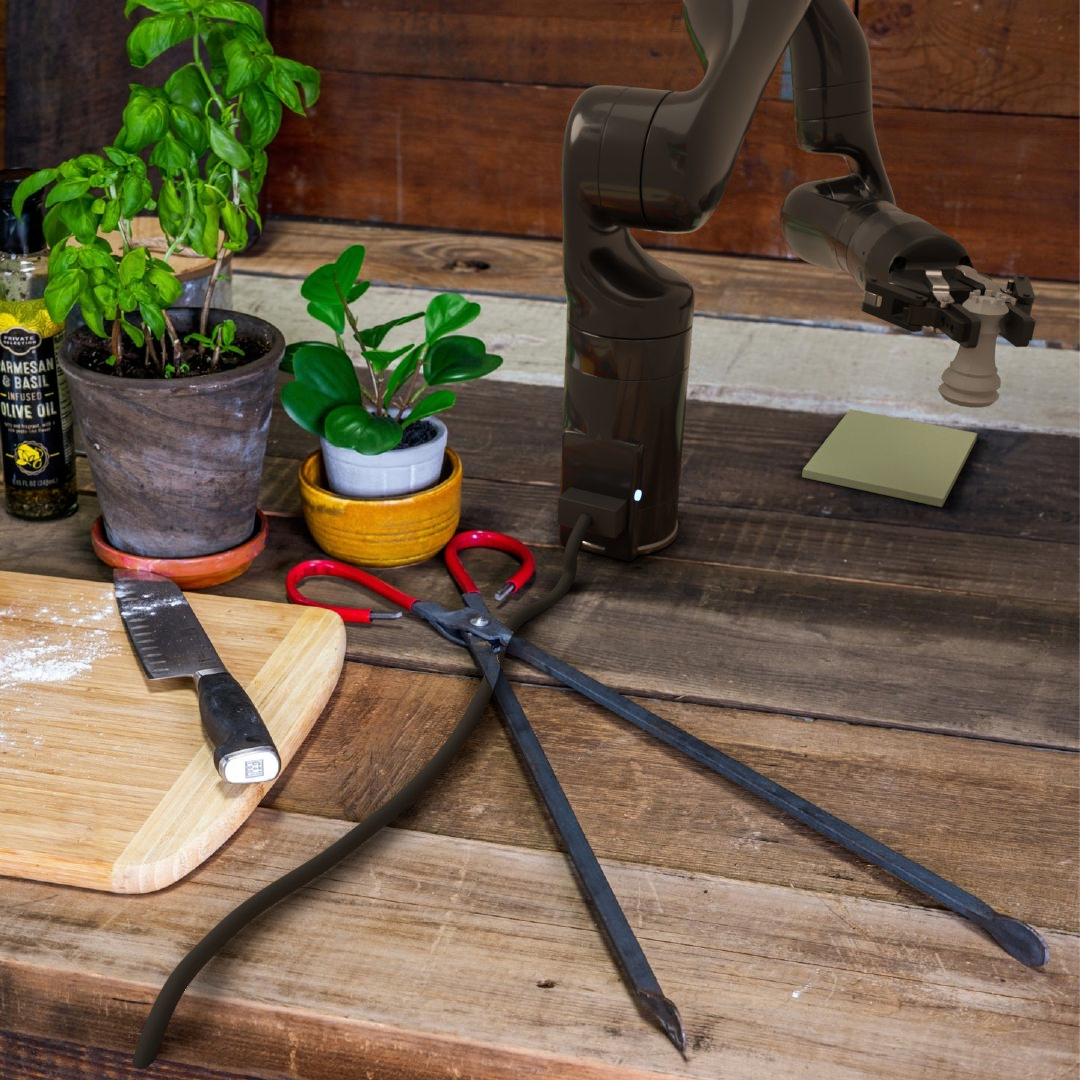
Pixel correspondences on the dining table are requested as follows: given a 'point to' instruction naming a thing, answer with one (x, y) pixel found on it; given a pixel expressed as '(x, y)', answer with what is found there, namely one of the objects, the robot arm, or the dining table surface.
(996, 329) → the rook chess piece
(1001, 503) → the dining table surface
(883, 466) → the mat
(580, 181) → the robot arm
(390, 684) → the dining table surface
